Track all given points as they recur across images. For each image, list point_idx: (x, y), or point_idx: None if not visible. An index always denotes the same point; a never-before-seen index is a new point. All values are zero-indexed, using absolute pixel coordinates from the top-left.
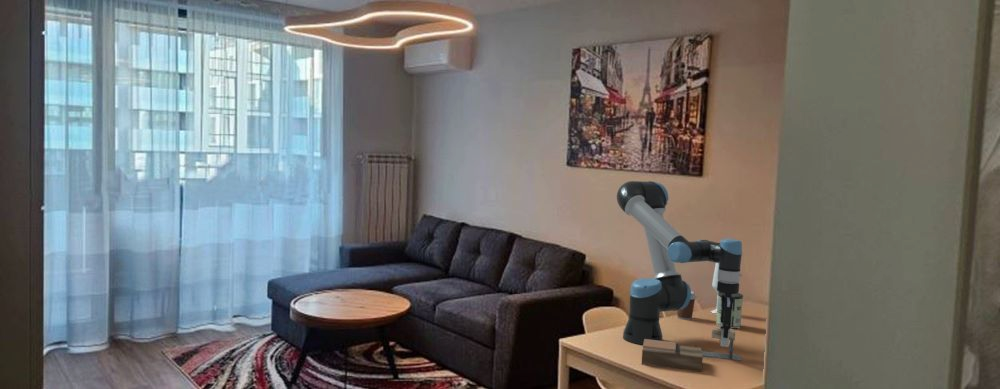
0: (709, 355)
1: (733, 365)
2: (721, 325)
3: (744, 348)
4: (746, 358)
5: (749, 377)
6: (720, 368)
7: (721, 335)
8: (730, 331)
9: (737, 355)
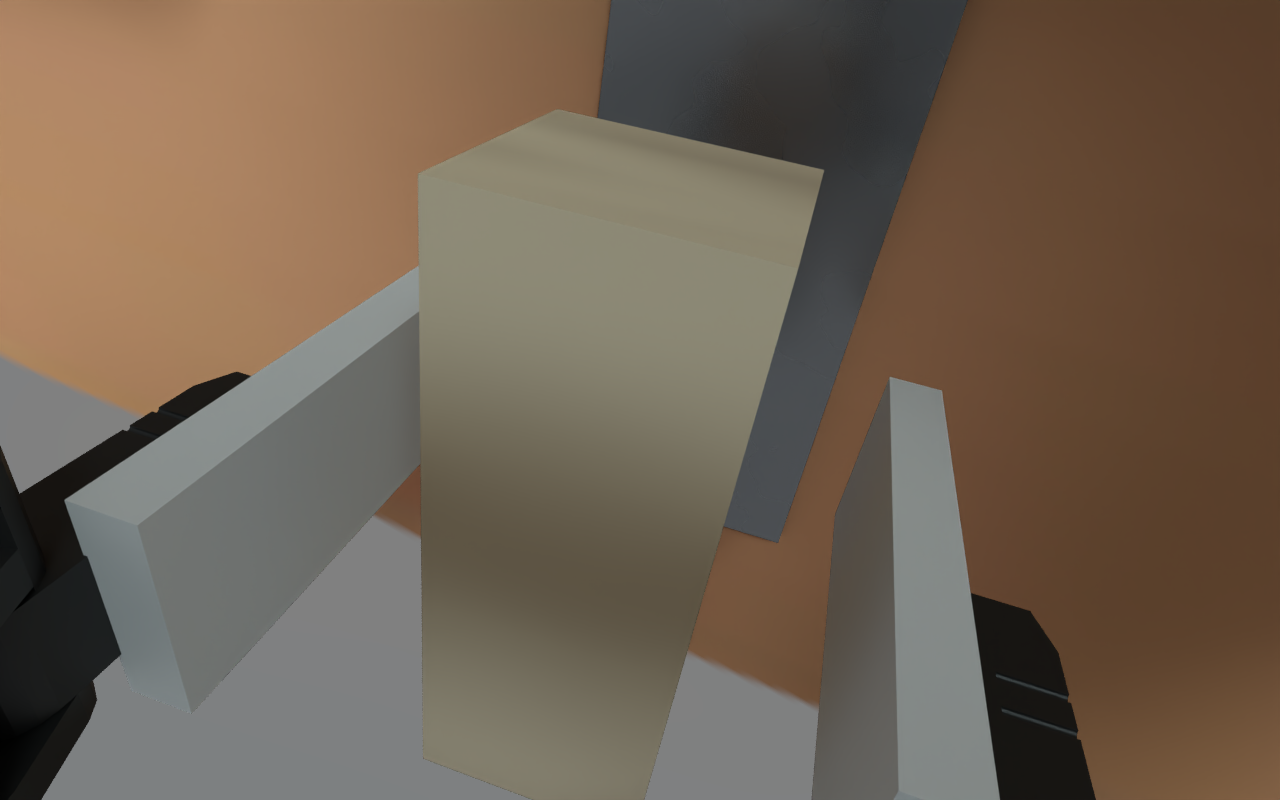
0: (670, 24)
1: (328, 294)
2: (886, 736)
3: (1204, 753)
4: None
5: (7, 321)
6: (104, 51)
7: (273, 365)
8: (473, 700)
9: (770, 512)
